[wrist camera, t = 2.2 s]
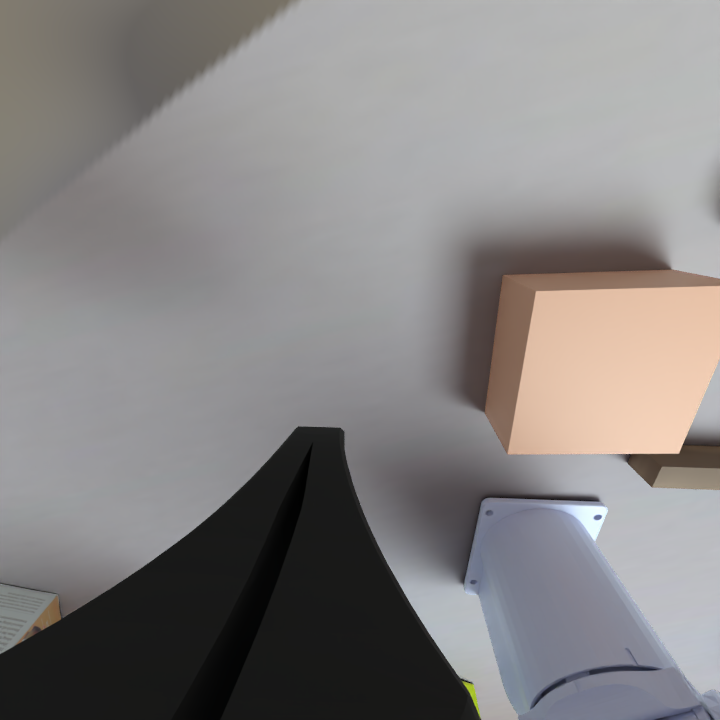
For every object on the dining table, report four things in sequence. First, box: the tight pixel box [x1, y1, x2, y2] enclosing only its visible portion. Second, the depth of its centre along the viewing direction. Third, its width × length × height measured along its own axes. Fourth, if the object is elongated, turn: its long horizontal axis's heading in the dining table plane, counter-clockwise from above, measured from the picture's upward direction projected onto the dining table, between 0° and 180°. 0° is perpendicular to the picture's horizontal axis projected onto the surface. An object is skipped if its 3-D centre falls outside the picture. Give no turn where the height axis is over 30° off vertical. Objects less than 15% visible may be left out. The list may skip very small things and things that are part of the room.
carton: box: [485, 270, 720, 454], centre depth 16 cm, size 8×8×4 cm
